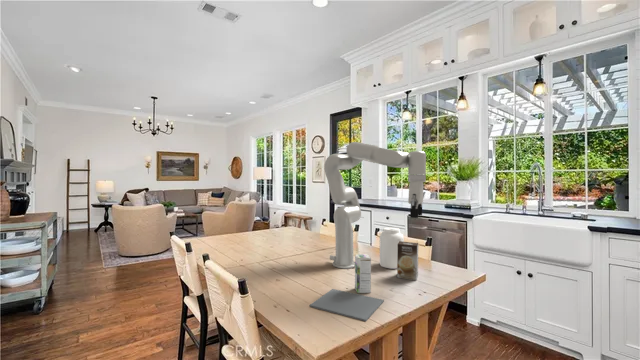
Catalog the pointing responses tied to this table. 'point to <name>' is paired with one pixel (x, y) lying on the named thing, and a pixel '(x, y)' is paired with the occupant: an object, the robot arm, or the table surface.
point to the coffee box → (407, 260)
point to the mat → (348, 304)
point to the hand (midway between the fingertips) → (416, 216)
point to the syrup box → (362, 273)
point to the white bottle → (389, 247)
